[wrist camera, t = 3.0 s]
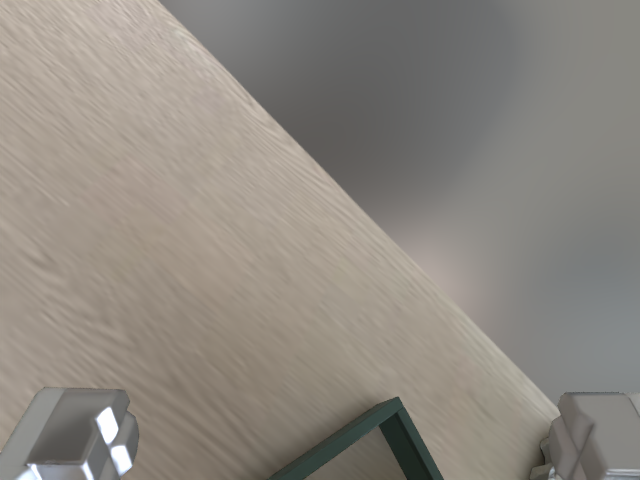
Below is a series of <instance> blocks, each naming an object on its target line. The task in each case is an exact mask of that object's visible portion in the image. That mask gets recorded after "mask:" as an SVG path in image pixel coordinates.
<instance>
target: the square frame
mask: <svg viewBox="0 0 640 480" xmlns="http://www.w3.org/2000/svg"><path fill="white" fill-rule="evenodd" d="M378 425H379V426H380V428H381V430H382V432H383V434H384V436H385V438H386V440H387V442H388V443H389V445H390V447H391V449H392V451H393V453H394V455H395V457H396V459H397V460H398V462H399V464H400V466H401V468H402V470H403V472H404V474H405V476H406V478H407V479H408V480H444V479H443V477H442V475H441V473H440V471H439V470H438V468H437V466H436V464H435V462H434V460H433V459H432V457H431V455H430V453H429V451H428V449H427V447H426V446H425V444H424V442H423V440H422V438H421V436H420V435H419V433H418V431H417V429H416V427H415V425H414V424H413V422H412V420H411V418H410V416H409V414H408V412H407V411H406V409H405V407H404V406H403V404H402V402H401V400H400V398H399V397H395V398H392V399H390V400H387V401H385V402H382V403H380V404H377V405H376V406H374V407H373V408H371V409H370V410H368V411H367V412H365V413H364V414H362V415H361V416H359V417H358V418H357V419H355V420H354V421H352V422H351V423H349V424H348V425H346V426H345V427H343V428H342V429H340V430H339V431H337V432H336V433H334V434H333V435H331V436H330V437H329V438H327V439H326V440H324V441H323V442H321V443H320V444H318V445H317V446H315V447H314V448H312V449H311V450H309V451H308V452H306V453H305V454H303V455H302V456H301V457H299V458H298V459H296V460H295V461H293V462H292V463H290V464H289V465H287V466H286V467H284V468H283V469H281V470H280V471H278V472H277V473H275V474H274V475H273V476H271V477H270V478H268V479H267V480H303V479H305V478H306V477H307V476H309V475H310V474H312V473H313V472H314V471H316V470H317V469H318V468H320V467H321V466H323V465H324V464H325V463H327V462H328V461H330V460H331V459H332V458H334V457H335V456H336V455H338V454H339V453H341V452H342V451H343V450H345V449H346V448H348V447H349V446H350V445H352V444H353V443H355V442H356V441H357V440H359V439H360V438H361V437H363V436H364V435H366V434H367V433H368V432H370V431H371V430H373V429H374V428H375V427H377V426H378Z"/></svg>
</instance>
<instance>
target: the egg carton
mask: <svg viewBox="0 0 640 480" xmlns="http://www.w3.org/2000/svg"><path fill="white" fill-rule="evenodd" d="M540 447H541V449H542V451H543V454H544V456H545V465H543V466H537V467H534V468H532V469H531V470H532V472H531V475H530V480H563V479H562V478H561V477H560V476H558V475H557V474H556V472H555V469H554V466H553V463H552V460H551V456H550V451H549V437H548V438H546V439H544V440H542V442H541V445H540Z"/></svg>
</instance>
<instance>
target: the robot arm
mask: <svg viewBox="0 0 640 480" xmlns="http://www.w3.org/2000/svg"><path fill="white" fill-rule="evenodd" d="M129 403H130V400H129V398H128V395H127V393H126V390H119V389H91V388H55V387H44V388H43V389H41V390H40V391H39V392H38V393H37V394H36V395H35V396H34V398H33V399H32V401H31V403H30V404H29V406H28V408H27V409H26V411H25V413H24V414H23V416H22V418H21V419H20V421H19V423H18V424H17V426H16V428H15V429H14V431H13V433H12V434H11V436H10V438H9V439H8V441H7V443H6V444H5V446H4V448H3V449H2V451H1V453H0V480H120V477H121V476H122V475H123V474H124V473H125V472H126V471H128V470H129V469H130V468H131V467H132V465H133V462H134V459H135V456H136V453H137V447H138V440H139V430H138V423H137V420H136V417H135V416H134V415H132V414H131V413H130V412H128V411H127V408H128V405H129ZM557 406H558V409H559V411H560V414H561V415H560V416H559V417H558V418H556V419H555V420H553V421H552V423H551V427H550V430H549V451H550V456H551V460H552V463H553V466H554V469H555V472H556V474H557V475H558V476H560V477H561V478H562V479H563V480H640V393H619V392H581V393H580V392H576V393H574V392H573V393H571V392H568V393H564V394H563V395H562V396H561V397H560V400H559V403H558V405H557Z"/></svg>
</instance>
